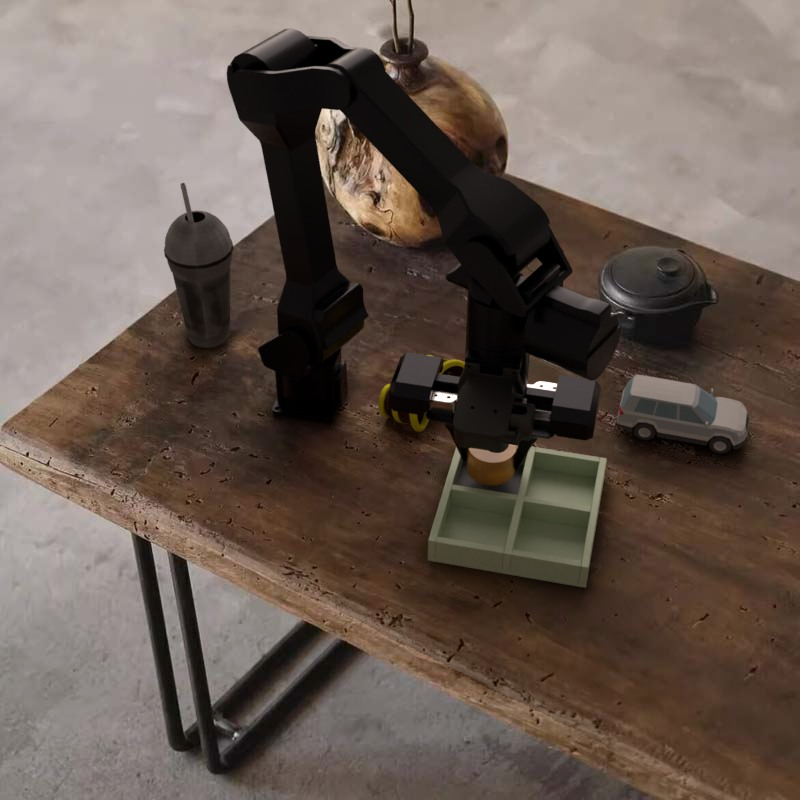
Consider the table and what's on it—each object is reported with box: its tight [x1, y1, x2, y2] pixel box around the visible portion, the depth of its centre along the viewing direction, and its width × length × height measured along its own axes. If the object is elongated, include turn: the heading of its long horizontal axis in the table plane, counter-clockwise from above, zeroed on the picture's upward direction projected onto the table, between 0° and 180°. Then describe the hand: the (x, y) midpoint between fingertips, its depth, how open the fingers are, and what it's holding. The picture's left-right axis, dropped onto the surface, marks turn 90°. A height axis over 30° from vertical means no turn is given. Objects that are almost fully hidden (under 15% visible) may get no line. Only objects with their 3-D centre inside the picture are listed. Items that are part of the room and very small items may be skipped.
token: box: [467, 444, 517, 486], centre depth 125 cm, size 5×5×3 cm
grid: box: [427, 445, 608, 589], centre depth 124 cm, size 14×14×3 cm
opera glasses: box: [378, 354, 465, 433], centre depth 135 cm, size 10×5×5 cm, turn 141°
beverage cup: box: [163, 182, 234, 349], centre depth 139 cm, size 7×7×20 cm
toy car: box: [615, 374, 750, 454], centre depth 132 cm, size 6×13×5 cm, turn 74°
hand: (490, 462), depth 126 cm, fingers closed on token, 5 cm apart
